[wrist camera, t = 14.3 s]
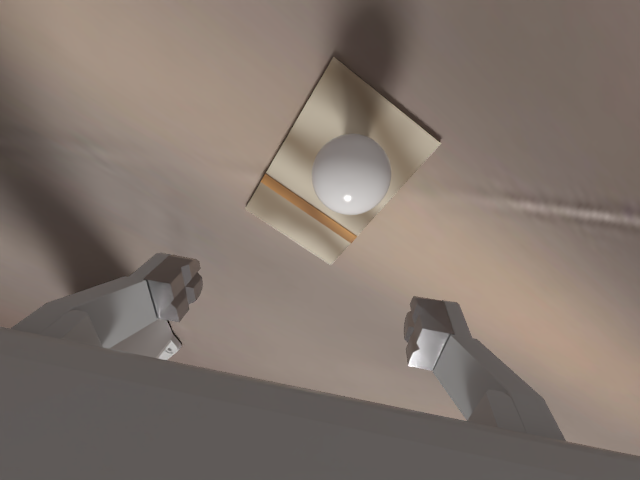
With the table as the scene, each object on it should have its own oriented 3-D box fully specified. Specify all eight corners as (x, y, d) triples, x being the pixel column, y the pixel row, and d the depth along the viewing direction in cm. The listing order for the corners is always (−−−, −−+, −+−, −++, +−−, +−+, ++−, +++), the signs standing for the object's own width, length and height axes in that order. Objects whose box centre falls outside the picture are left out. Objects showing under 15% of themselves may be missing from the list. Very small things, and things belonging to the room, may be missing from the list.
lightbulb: (396, 129, 28) (410, 164, 19) (371, 187, 32) (372, 240, 22) (335, 107, 28) (319, 131, 19) (316, 167, 31) (295, 213, 22)
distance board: (331, 263, 38) (330, 265, 37) (246, 207, 36) (244, 209, 35) (440, 142, 29) (441, 143, 28) (334, 56, 26) (333, 56, 26)
